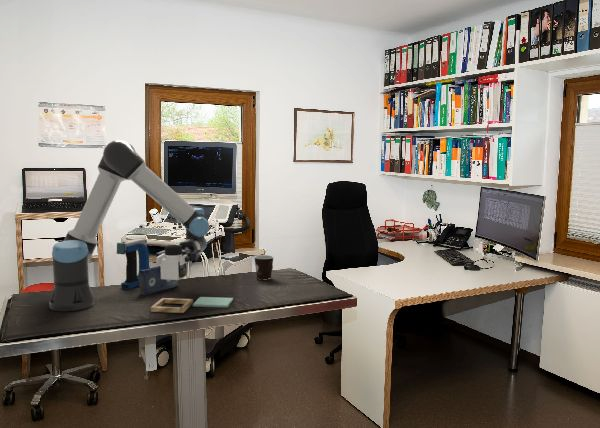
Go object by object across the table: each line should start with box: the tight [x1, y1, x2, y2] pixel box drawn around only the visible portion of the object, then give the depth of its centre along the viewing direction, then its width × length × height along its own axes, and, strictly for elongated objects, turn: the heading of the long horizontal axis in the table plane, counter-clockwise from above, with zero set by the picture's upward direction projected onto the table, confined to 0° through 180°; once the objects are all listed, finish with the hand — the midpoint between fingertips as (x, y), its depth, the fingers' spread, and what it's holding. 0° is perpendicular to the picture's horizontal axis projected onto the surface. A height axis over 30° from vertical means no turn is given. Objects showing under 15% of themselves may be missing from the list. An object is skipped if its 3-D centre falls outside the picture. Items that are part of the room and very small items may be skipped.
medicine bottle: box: [160, 243, 188, 281], centre depth 183 cm, size 7×7×12 cm
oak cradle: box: [150, 297, 194, 314], centre depth 185 cm, size 12×12×2 cm
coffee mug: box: [254, 254, 274, 279], centre depth 228 cm, size 12×9×10 cm
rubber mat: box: [192, 296, 234, 308], centre depth 191 cm, size 13×10×1 cm
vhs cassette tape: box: [138, 265, 179, 296], centre depth 208 cm, size 18×3×10 cm, turn 145°
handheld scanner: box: [116, 238, 150, 290], centre depth 213 cm, size 5×16×20 cm, turn 158°
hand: (169, 261), depth 178 cm, fingers closed on medicine bottle, 8 cm apart
